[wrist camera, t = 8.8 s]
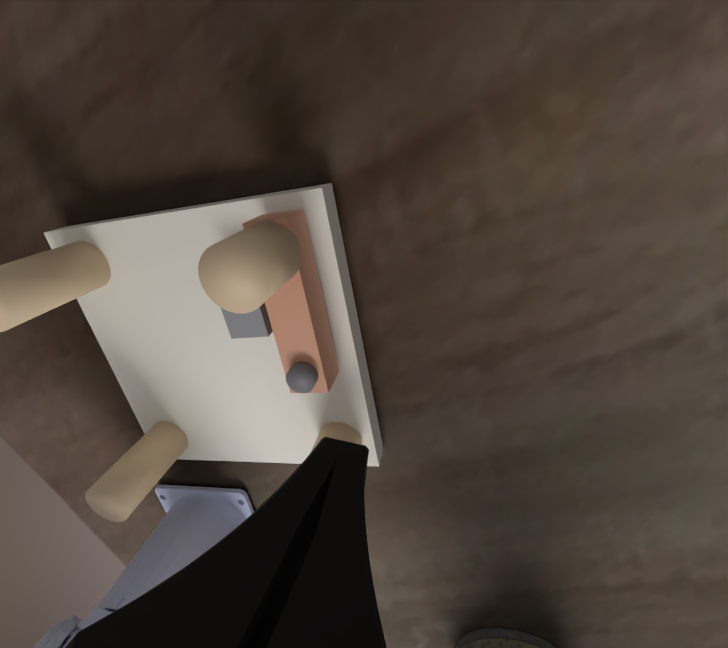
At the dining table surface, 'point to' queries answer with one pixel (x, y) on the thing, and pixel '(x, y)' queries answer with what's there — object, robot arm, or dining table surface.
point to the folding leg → (276, 292)
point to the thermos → (501, 639)
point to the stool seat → (198, 340)
